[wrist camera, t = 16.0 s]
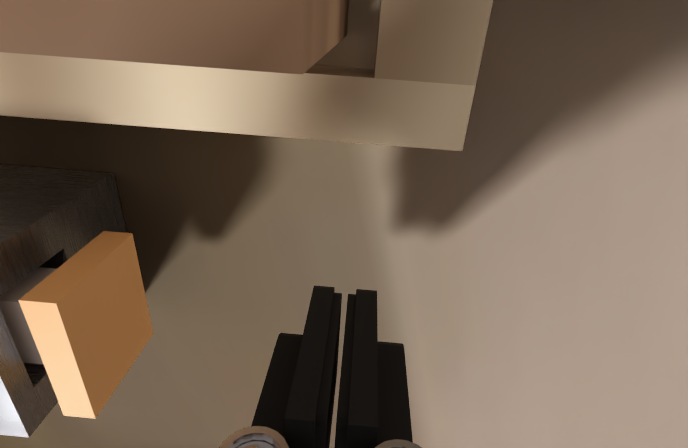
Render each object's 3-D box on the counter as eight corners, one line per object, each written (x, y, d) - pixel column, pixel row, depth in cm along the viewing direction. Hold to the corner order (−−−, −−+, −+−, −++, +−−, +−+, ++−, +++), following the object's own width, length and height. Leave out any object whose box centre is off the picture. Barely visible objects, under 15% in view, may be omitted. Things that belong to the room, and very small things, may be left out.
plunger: (132, 233, 11) (56, 303, 8) (153, 333, 13) (95, 418, 10) (-40, 218, 11) (-170, 283, 8) (4, 320, 13) (-93, 400, 10)
